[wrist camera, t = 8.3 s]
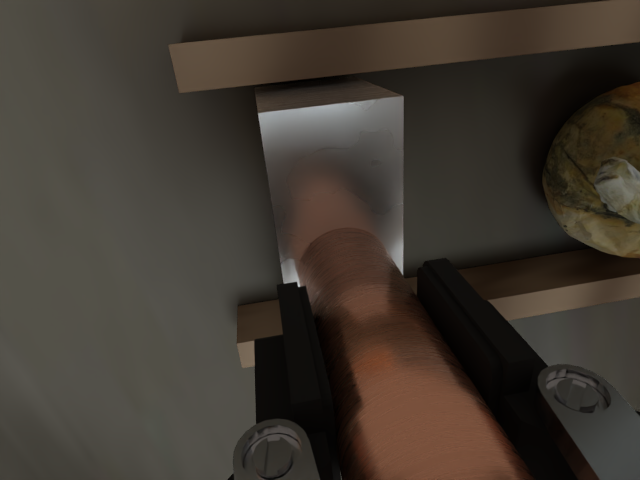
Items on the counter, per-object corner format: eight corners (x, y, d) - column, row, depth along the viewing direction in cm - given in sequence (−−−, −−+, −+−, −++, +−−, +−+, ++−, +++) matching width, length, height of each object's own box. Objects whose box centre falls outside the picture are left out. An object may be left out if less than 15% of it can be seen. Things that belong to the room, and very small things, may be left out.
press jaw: (353, 76, 17) (761, 238, 4) (363, 291, 22) (554, 708, 8) (254, 87, 16) (289, 317, 3) (287, 304, 21) (356, 764, 8)
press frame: (749, -14, 19) (998, -38, 13) (661, 257, 25) (797, 331, 19) (180, 42, 16) (140, 48, 10) (242, 328, 23) (241, 440, 16)
